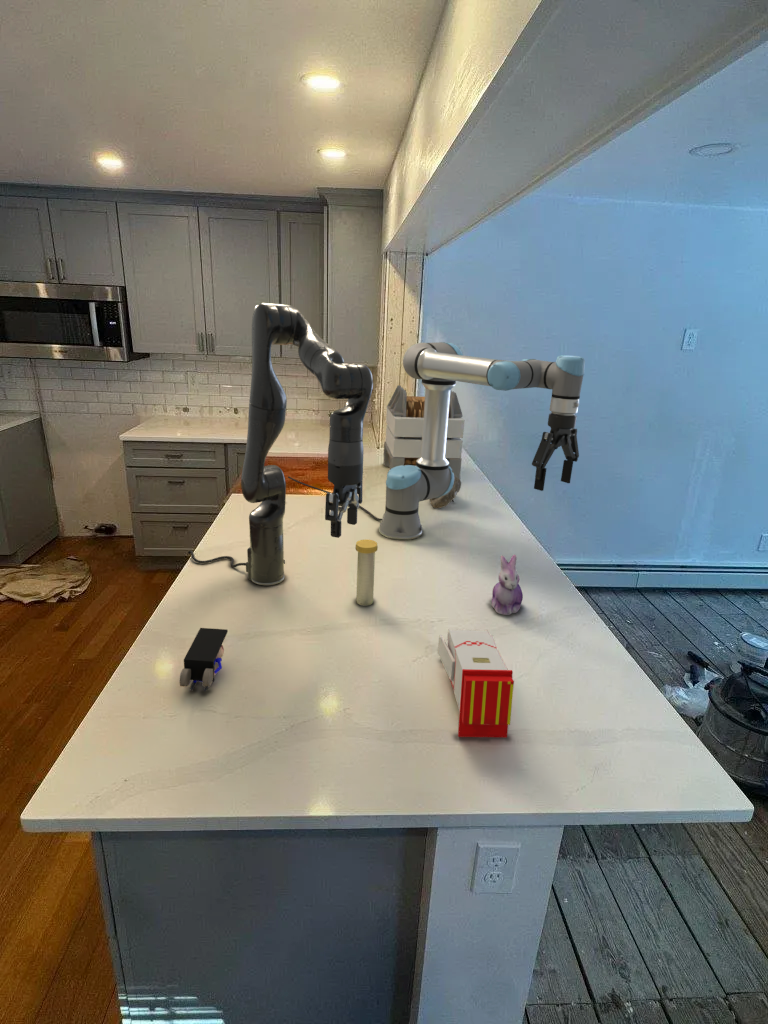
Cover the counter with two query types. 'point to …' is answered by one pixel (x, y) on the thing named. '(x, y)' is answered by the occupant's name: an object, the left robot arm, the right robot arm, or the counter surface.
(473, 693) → the toy
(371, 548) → the lid
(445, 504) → the fossil
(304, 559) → the counter surface
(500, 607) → the figurine
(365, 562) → the bottle
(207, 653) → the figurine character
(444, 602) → the counter surface
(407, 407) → the white wooden crate
